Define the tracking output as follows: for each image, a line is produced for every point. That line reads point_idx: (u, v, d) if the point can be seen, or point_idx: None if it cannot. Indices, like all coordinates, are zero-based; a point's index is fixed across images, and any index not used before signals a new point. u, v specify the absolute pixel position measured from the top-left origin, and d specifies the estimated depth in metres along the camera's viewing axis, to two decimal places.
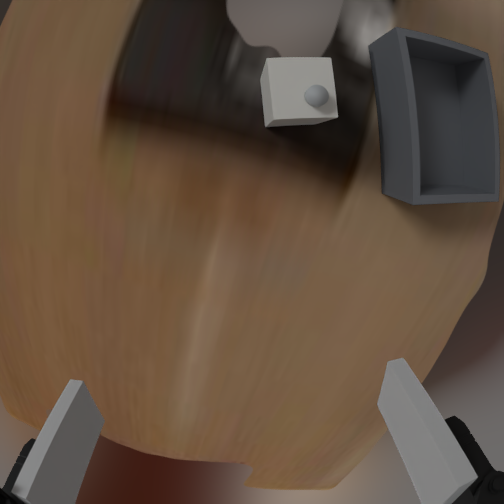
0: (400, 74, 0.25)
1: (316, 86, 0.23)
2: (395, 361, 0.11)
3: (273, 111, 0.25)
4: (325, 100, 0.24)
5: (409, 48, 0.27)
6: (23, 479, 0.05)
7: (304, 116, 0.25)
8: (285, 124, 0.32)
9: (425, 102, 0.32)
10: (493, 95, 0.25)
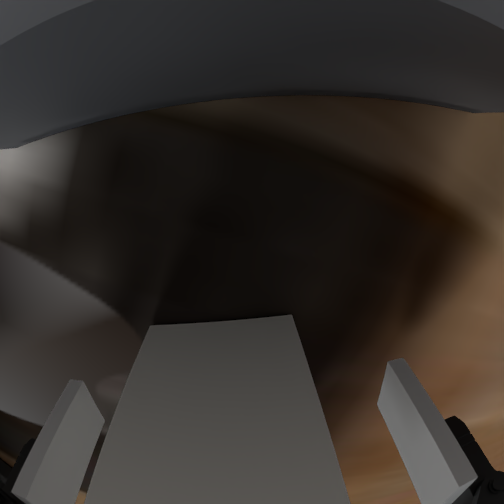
0: None
1: None
2: (395, 361, 0.11)
3: None
4: None
5: None
6: (23, 479, 0.05)
7: None
8: None
9: None
10: None
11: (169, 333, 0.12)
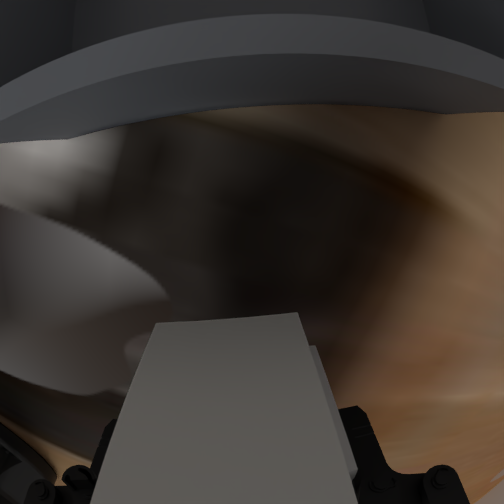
0: (102, 91, 0.06)
1: None
2: None
3: None
4: None
5: (36, 49, 0.08)
6: None
7: None
8: None
9: None
10: None
11: (175, 330, 0.12)
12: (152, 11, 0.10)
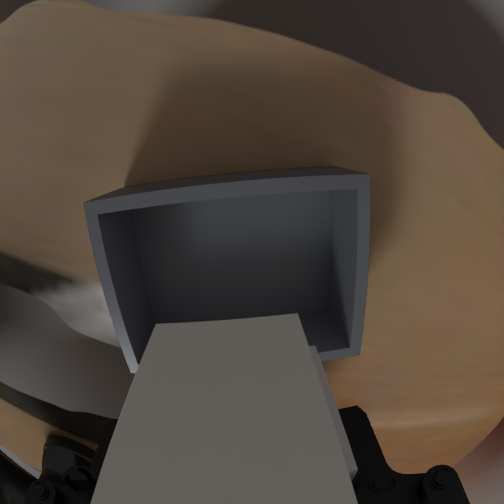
0: None
1: None
2: None
3: None
4: None
5: (141, 314, 0.26)
6: None
7: None
8: None
9: (209, 261, 0.28)
10: (162, 196, 0.19)
11: (175, 331, 0.12)
12: (188, 281, 0.29)
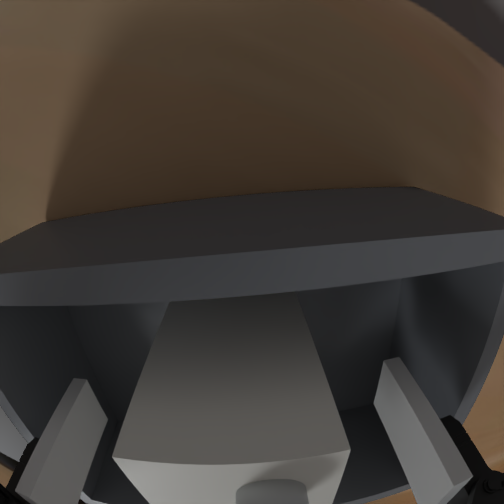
0: None
1: None
2: (391, 360, 0.11)
3: None
4: None
5: None
6: (27, 478, 0.05)
7: (330, 497, 0.07)
8: None
9: None
10: (46, 284, 0.06)
11: (188, 306, 0.14)
12: None
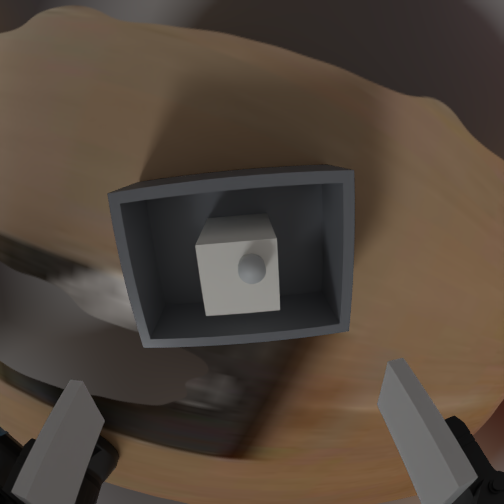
0: None
1: (240, 272, 0.22)
2: (395, 361, 0.11)
3: (270, 309, 0.24)
4: (258, 262, 0.22)
5: (153, 294, 0.30)
6: (23, 479, 0.05)
7: (276, 278, 0.23)
8: None
9: None
10: (177, 188, 0.23)
11: (216, 218, 0.30)
12: (195, 266, 0.32)
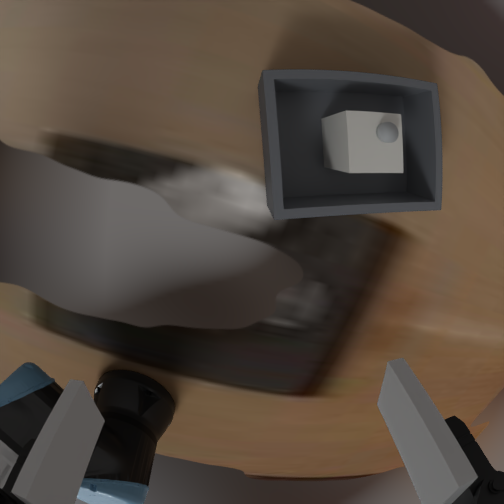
0: None
1: (382, 132, 0.25)
2: (395, 361, 0.11)
3: (396, 172, 0.27)
4: (394, 125, 0.24)
5: None
6: (23, 479, 0.05)
7: (401, 145, 0.26)
8: None
9: None
10: (324, 73, 0.25)
11: None
12: (308, 160, 0.35)
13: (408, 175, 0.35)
